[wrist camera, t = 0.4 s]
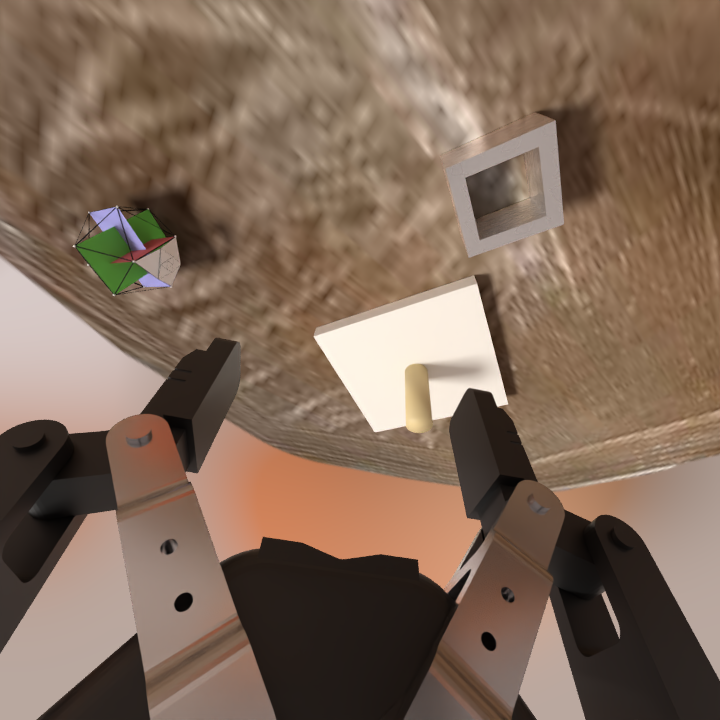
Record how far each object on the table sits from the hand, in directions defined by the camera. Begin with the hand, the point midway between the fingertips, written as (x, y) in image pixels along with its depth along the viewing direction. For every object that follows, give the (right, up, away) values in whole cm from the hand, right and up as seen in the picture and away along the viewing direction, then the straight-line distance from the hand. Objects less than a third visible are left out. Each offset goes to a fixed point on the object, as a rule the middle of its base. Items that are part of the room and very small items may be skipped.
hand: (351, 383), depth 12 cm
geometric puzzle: (-18, +12, +19) cm, 29 cm away
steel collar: (+10, +14, +14) cm, 22 cm away
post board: (+6, +1, +26) cm, 27 cm away
